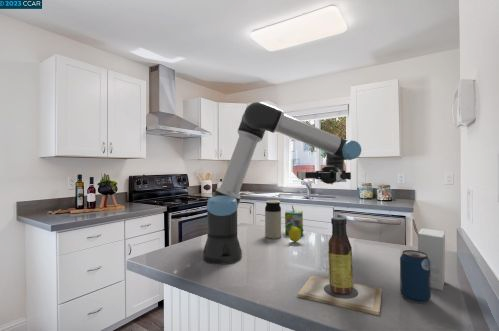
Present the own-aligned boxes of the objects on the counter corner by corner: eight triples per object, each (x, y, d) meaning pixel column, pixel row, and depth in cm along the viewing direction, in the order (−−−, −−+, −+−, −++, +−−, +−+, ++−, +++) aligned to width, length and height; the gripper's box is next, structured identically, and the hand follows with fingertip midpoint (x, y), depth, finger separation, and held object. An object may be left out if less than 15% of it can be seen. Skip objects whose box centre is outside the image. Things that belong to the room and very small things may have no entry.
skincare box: (420, 276, 87) (420, 227, 87) (446, 281, 83) (446, 230, 83) (416, 285, 81) (416, 232, 81) (444, 291, 76) (443, 236, 77)
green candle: (303, 236, 139) (302, 207, 139) (284, 235, 140) (284, 206, 140) (303, 231, 148) (303, 204, 148) (286, 231, 149) (286, 204, 150)
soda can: (437, 304, 70) (436, 257, 70) (411, 305, 69) (411, 257, 69) (418, 291, 76) (417, 248, 77) (394, 292, 76) (394, 249, 76)
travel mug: (276, 239, 131) (276, 202, 131) (262, 237, 136) (262, 201, 136) (283, 236, 138) (283, 200, 138) (269, 234, 142) (269, 199, 142)
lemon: (285, 243, 126) (285, 221, 126) (290, 240, 131) (290, 219, 131) (298, 245, 122) (298, 223, 122) (303, 242, 127) (303, 220, 127)
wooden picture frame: (297, 296, 74) (297, 292, 74) (311, 278, 86) (311, 274, 86) (379, 315, 64) (379, 311, 64) (381, 291, 76) (381, 288, 76)
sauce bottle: (357, 294, 72) (356, 220, 73) (335, 296, 71) (334, 220, 72) (345, 284, 79) (344, 215, 79) (324, 286, 78) (324, 216, 78)
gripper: (361, 184, 110) (354, 187, 91) (301, 182, 121) (284, 185, 103) (361, 165, 110) (354, 165, 91) (301, 165, 122) (284, 165, 103)
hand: (317, 176), depth 97 cm, fingers open, 13 cm apart
